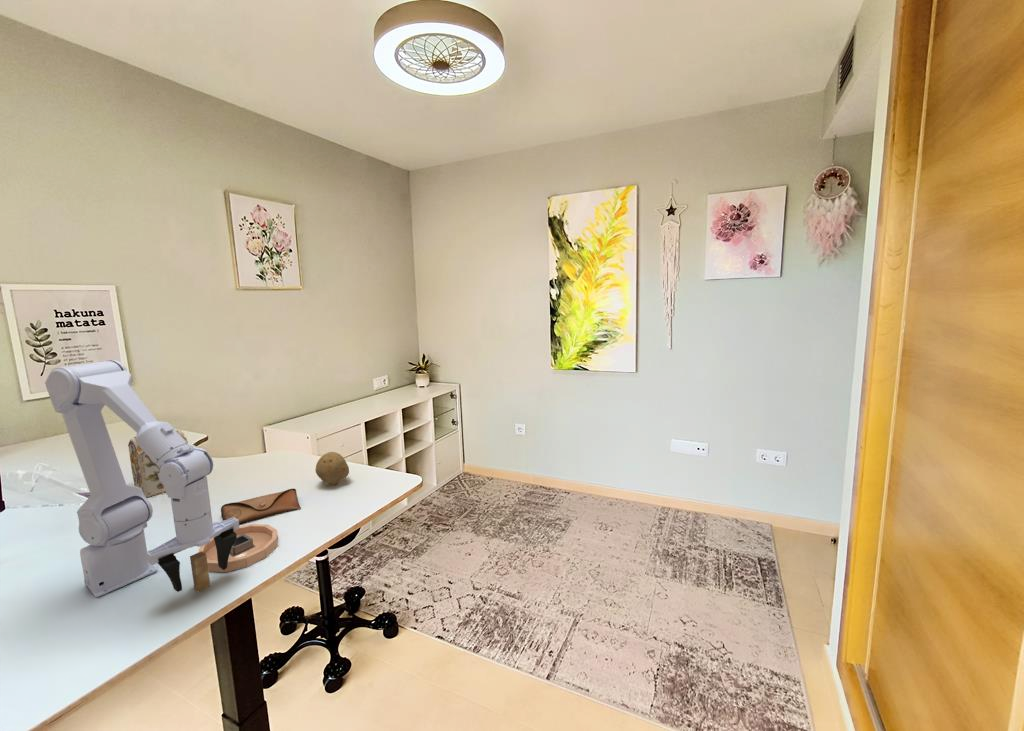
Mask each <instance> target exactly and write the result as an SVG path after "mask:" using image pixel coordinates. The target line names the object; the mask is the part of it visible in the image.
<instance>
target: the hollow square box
mask: <svg viewBox="0 0 1024 731" xmlns="http://www.w3.org/2000/svg"><path fill="white" fill-rule="evenodd" d="M254 547H255V545H253V539H252V538H250V537H249V536H247V535H245V534H244V535H243V534H242V535H240V536H238V537H237V538H236V540H235V542H234V544H233V546H232V548H231V551H230V555H231V556H233V557H234V556H237V555H239V554H241V553H243V552H245V551H247V550H249V549H252V548H254Z"/></svg>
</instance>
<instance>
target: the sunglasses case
mask: <svg viewBox="0 0 1024 731" xmlns="http://www.w3.org/2000/svg"><path fill="white" fill-rule="evenodd" d="M301 509H302V507H301V505H300V502H299V499H298V494H297V489H296V488H289V489H286V490H282V491H279V492H275V493H270V494H266V495H261V496H256V497H252V498H249V499H244V500H241V501H236V502H228V503H225V504H223V505H222V506H221V507H220V513H221V515H220V516H221V520H222V521H224V520H228V519H230V518H233V517H234V518H236V519H238V520H239V526H242V525H244V524H245V525H246V524H247V523H252V522H255V521H259V520H262V519H265V518H270V517H274V516H277V515H281V514H286V513H289V512H294V511H295V512H296V511H298V510H301Z"/></svg>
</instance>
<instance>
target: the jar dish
mask: <svg viewBox="0 0 1024 731" xmlns="http://www.w3.org/2000/svg"><path fill="white" fill-rule="evenodd" d="M234 532H235V533H236V535H237V537H238V536H240V535H242V534H243V535H244V534H245V535H247V536H249V537H250V538H252V539H253V545H255V547H254V548H252V549H249V550H247V551H245V552H243V553H241V554H239V555H237V556H234V557H233V556H231V555H230V554H229V558H228V564H227V569H224V570H223V569H221V568H220V567H219V565H218V559H217V549H216V545H215V541H214V538H212V539H210V543H208V544H205V545H203V546H200V547H199V549H198V551H197V553H199V552H201V551H202V552H204V553H205V554H206V556H207V564H208V572H209V573H210V572H213V573H227V572H230V571H231V572H232V571H237V570H240V569H243V568H247V567H249V566H251V565H254V564H255V563H257V562H259V561H261V560H263V559H265V558H267V557H268V556H269V555H270V554H271V553H272V552H273V551H274V550H275V549H276V548H278V540H279V536H278V529H276V528H275V527H273V526H271V525H270V524H261V523H260V524H259V523H251V524H245V525H239V529H237V530H234Z"/></svg>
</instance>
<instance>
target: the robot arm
mask: <svg viewBox="0 0 1024 731" xmlns="http://www.w3.org/2000/svg"><path fill="white" fill-rule="evenodd" d="M132 378H133V377H132V373H131V372H129V371H128V369H127V368H126V366H125V365H124V364H123V363H122V362H121V361H119V360H117V359H107V360H105V361H99V362H91V363H85V364H77V365H70V366H57V367H54V368H53V369H52V370H51V371H50V372H49V374H48V376H47V378H46V380H45V383H44V384H45V387H46V390H47V393H48V395H49V399H50V401H51V404H52V406H53V409H54V412H55V413H59V414H61V415H62V416H61V417H62V418H63V421H64V424H65V427H66V430H67V432H68V435H69V438H70V441H71V444H72V446H73V449H74V452H75V456H76V458H77V460H78V463H79V466H80V468H81V471H82V474H83V478H84V480H85V483H86V485H87V489H88V492H89V494H90V495H89V496H88V498H87V499H86V500H85V502H84V503H83V504H82V505H81V506H80V507H79V509H77V511H76V514H77V518H78V533H79V536H80V537H81V538H82V540H83V541H84V542H85V543H86V544H87V545H86V546H84V547H82V548H81V549H80V550H79V553H80V554H79V557H80V560H81V566H82V572H83V579H84V581H83V582H84V584H85V585H86V587H87V588H88V589H89V590H90V592H91V593H92V594H93V596H94V597H95V598H99V597H101V596H104V595H106V594H108V593H110V592H113V591H115V590H117V589H120V588H121V587H125V586H126V585H129V584H131V583H134V582H136V581H139V580H141V579H143V578H145V577H147V576H149V575H152V574H154V573H156V572H157V571H158V568H157V567H156V566H155V565H156V564H158V566H159V567H160V568H161V569H162V570H163V571H164V572H165V574H166V576H167V577H168V579H169V581H170V582H171V585H172V587H173V590H175V592H178V593H179V592H180V591H182V590H183V584H182V580H181V575H180V574H181V571H180V570H181V569H180V568H181V564H180V563H181V562H180V561H179V560H178V559H177V556H176V554H178V553H180V552H183V551H185V550H187V549H190V548H193V547H199V548H200V546H203V545H205V544H208V543H210V539H212V538H214V541H215V545H216V549H217V559H218V565H219V567H220V568H221V569H223V570H224V569H227V564H228V558H229V554H230V551H231V548H232V546H233V544H234V542H235V540H236V538H237V535H236V533H235V532H234V530H237V529H239V527H240V525H239V520H238V519H236V518H234V517H233V518H230V519H228V520H224V521H223V520H221V521H217V522H213V516H212V507H211V500H210V492H209V485H208V476H209V475H210V474H212V473H213V469H214V461H213V458H212V456H211V455H210V453H209V452H208V451H207V450H206V449H204V448H201V447H197V446H196V445H194V444H189V442H188V443H187V442H186V441H185V440H184V439H183V438H182V436H181V435H180V434H179V433H178V432H177V431H176V430H177V429H175V428H174V427H173V425H171V423H169V422H168V421H167V422H166V421H160V420H157V419H156V417H155V416H154V414H153V413H152V412H151V411H150V410H149V408H148V407H147V405H146V404H145V403H144V402H143V401H142V400H143V399H141V398H140V396H139V395H138V394H137V393H136V391H135V390H134V389H133V388H132V385H133V384H132V382H133V380H132ZM105 406H106V407H107V408H108V409H110V411H112V412H113V413H114V414H115V415H116V416H117V417H118V418H120V419H121V420H122V421H123V422H124V423H125V424H127V425H128V426H129V427H130V428H131V429H132V430H133V431H135V432H136V435H135V437H136V440H135V441H136V443H137V445H138V446H139V447H140V448H141V449H142V450H143V451H144V452H145V453H146V454H147V455H148V456H149V457H150V458H151V459H152V461H153V462H154V463H155V464H156V465H157V466H158V467H159V468H160V473H158V477H159V480H160V481H161V483H162V484H163V485H164V487H165V489H166V492H165V493H166V495H167V497H168V498H169V499H170V503H171V510H172V518H173V523H174V532H175V537H173V538H171V539H169V540H167V541H166V542H164V543H162V544H160V545H159V546H156V547H155V548H153V549H150V550H149V551H148V549H147V542H146V536H145V529H146V528H147V527H148V523H147V522H149V521H150V520H151V519H152V517H153V512H154V511H153V506H152V503H151V501H150V500H149V499H148V498H146V497H145V495H144V493H143V491H142V489H141V488H138V487H135V485H134V486H132V485H130V484H127V483H126V480H125V477H124V475H123V471H122V467H121V465H120V463H119V459H118V456H117V454H116V451H115V449H114V445H113V442H112V440H111V437H110V434H109V431H108V427H107V425H106V422H105V420H104V417H103V413H102V410H103V409H104V407H105Z"/></svg>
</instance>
